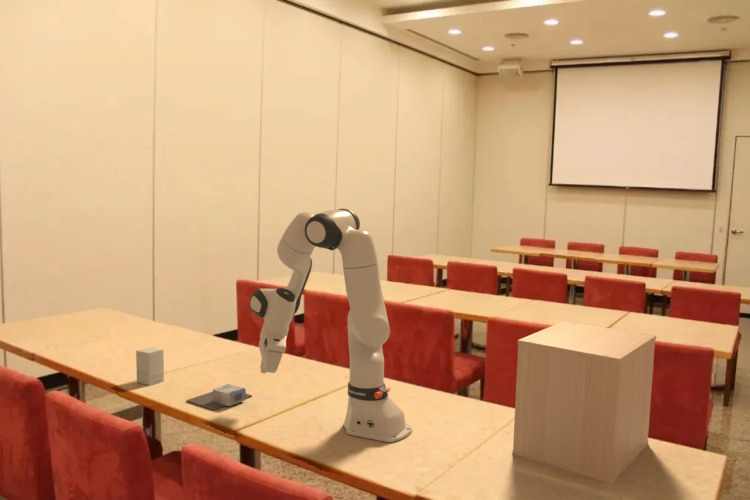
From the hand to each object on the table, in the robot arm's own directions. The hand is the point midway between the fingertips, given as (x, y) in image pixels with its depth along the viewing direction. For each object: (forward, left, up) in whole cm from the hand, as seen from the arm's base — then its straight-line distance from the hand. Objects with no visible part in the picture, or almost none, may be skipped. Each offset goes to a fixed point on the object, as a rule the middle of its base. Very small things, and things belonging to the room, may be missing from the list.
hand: (262, 371), depth 222 cm
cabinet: (-100, -34, -13) cm, 106 cm away
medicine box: (+8, +4, -10) cm, 13 cm away
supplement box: (+53, +7, -13) cm, 55 cm away
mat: (+18, +4, -13) cm, 22 cm away
